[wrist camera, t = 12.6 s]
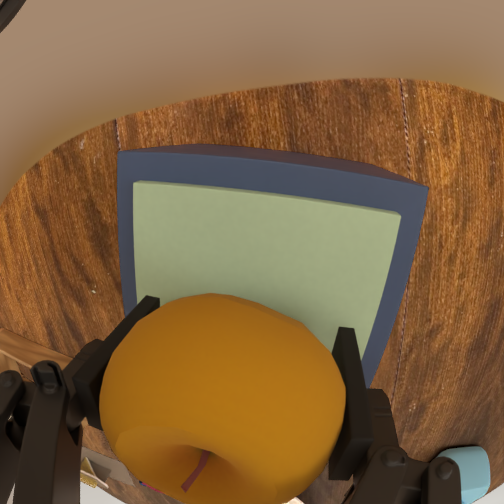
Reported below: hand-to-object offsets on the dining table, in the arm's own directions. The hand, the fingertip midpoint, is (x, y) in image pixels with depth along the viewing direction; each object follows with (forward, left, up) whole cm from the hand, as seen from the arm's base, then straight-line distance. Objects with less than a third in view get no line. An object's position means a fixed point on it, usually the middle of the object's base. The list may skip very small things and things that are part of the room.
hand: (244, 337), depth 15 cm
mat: (0, 0, -2) cm, 2 cm away
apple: (0, 0, 0) cm, 0 cm away
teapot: (+36, +35, -17) cm, 53 cm away
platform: (+58, -33, -17) cm, 69 cm away
